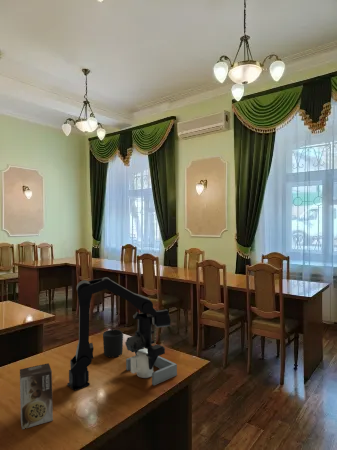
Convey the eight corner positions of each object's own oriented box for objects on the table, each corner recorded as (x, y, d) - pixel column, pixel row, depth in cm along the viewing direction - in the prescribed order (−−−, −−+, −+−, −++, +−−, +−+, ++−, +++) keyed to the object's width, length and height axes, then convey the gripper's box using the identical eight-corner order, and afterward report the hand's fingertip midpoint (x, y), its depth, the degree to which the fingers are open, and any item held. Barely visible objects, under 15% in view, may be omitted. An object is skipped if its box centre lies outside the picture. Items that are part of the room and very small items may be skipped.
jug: (146, 368, 137) (146, 347, 137) (156, 374, 132) (156, 352, 132) (126, 376, 130) (126, 353, 130) (137, 382, 125) (137, 359, 125)
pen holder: (126, 351, 156) (126, 330, 156) (117, 359, 147) (116, 337, 147) (109, 348, 159) (109, 328, 159) (99, 356, 150) (99, 335, 150)
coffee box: (50, 410, 107) (49, 362, 107) (53, 421, 101) (52, 370, 101) (20, 418, 103) (19, 368, 103) (21, 430, 97) (20, 377, 97)
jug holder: (154, 385, 123) (153, 373, 123) (126, 369, 137) (126, 359, 137) (176, 375, 131) (176, 364, 131) (148, 361, 145) (148, 351, 145)
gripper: (115, 327, 133) (115, 364, 133) (143, 339, 119) (143, 381, 119) (137, 321, 141) (137, 357, 141) (165, 332, 127) (165, 371, 127)
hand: (145, 366), depth 132 cm, fingers closed on jug, 7 cm apart
